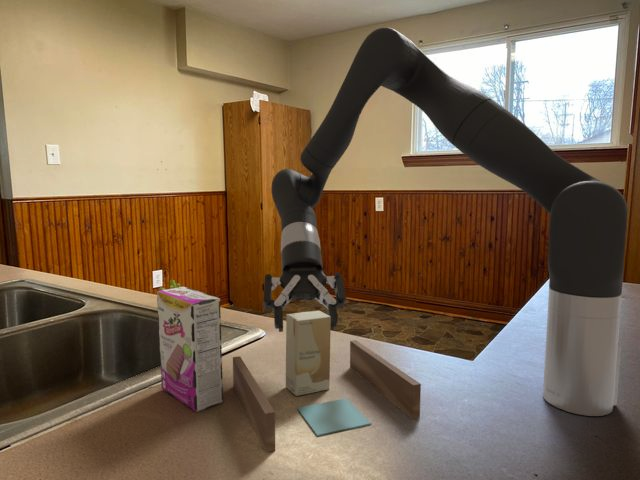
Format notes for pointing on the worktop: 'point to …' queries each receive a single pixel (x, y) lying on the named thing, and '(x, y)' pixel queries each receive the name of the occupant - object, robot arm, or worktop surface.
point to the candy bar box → (190, 347)
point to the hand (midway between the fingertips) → (306, 328)
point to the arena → (334, 412)
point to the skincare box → (307, 352)
